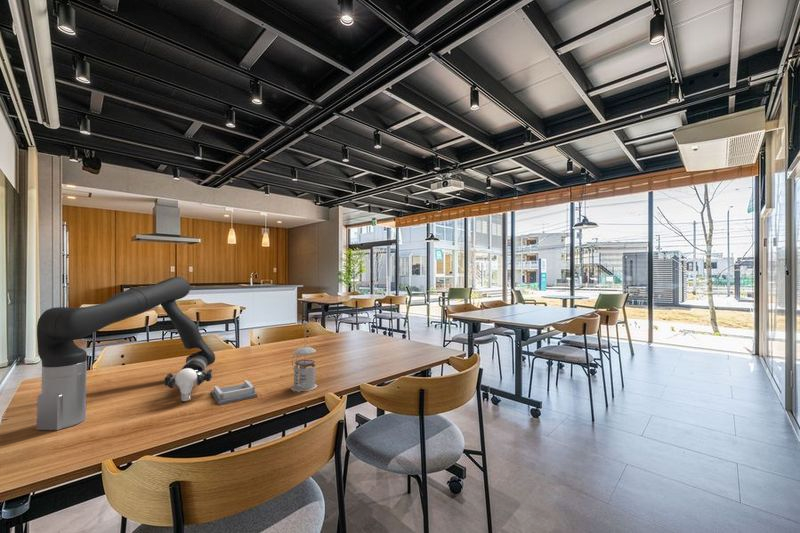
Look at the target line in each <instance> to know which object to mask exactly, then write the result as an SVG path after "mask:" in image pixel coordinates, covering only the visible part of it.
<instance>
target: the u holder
mask: <svg viewBox="0 0 800 533" xmlns="http://www.w3.org/2000/svg"><path fill="white" fill-rule="evenodd" d="M255 390H256V388H255V386H254V385H253V384H252V383H251V382H250V381H249V380H248V379H246V380H244V381H243V383H241V384H237V385H236V384H235V385H232V386H226V387H221V388H220V387H219V386H218V385H214V386H213V389H211V390H210V393H211V395H212V396H213V398H214V399H215V401H216V402H217V404H218V406H221V405H226V404H231V403H234V402H235V403H236V402H239V401H244V400H248V399H253V398H258V393H257V392H256V391H255Z"/></svg>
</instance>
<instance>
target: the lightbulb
mask: <svg viewBox="0 0 800 533" xmlns="http://www.w3.org/2000/svg"><path fill="white" fill-rule="evenodd" d="M181 369H182V368H181ZM181 369H180V370H179V371H178V372H177V373H176V374H177V375H176V374H175V375H176V377H175V383H176V384H175V385H177V387H178V388H179V392H180V395H181V398H180V399H181V401H182V402H185V403H186V402H189V401H190V400H191V397H192V395H191V392H192V390H193V386H194V385H195V384H196V383H197V382H196V380H197V373H196V371H195V370H193V369H191V368H185V369H182V370H181ZM195 382H196V383H195Z"/></svg>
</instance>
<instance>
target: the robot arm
mask: <svg viewBox="0 0 800 533" xmlns="http://www.w3.org/2000/svg"><path fill="white" fill-rule="evenodd" d="M190 289H191V285H190V282H189V281H188V280H187V279H186V278H184V277H181V276H173V277H169V278H167V279H165V280H161V281H159V282H157V283H156V284H151V285H145V286H141V287H136V288H135V287H134V288H131V289H127V290H124V291H121V292H118V293H115V294H114V295H112V296H111V297H109V298H108V299H107V300H106V301H104V302H102V303H99V304H95V305H90V306H83V307H82V306H80V307H78V306H77V307H76V306H74V307H71V306H69V307H66V306H65V307H64V306H60V307H59V306H58V307H57V306H55V307H52V308H49V309H48V308H47V309H46V310H45V311H44V312H42V313H41V314H40V316H39V318H38V321H37V324H36V342H37V344H36V345H37V354H38V357H39V358H40V360H41V392H40V394H38V395H37V397H36V430H37V431H59V430H60V431H61V430H62V429H65V428H69V427H72V426H75V425H76V426H77V425H78V424H80V423H82V422H84V421H85V420H86V419H87V418H86V417H87V370H88V368H87V367H88V366H87V364H88V355H87V354H88V352H87V350H85V349H83V348H82V347H79V346H78V345H76V343H75V341H76V340H79V339H83V338H85V337H86V338H87V337H89V336H90V335H92V334H94V333H96V332H98V331H100V330H102V329H104V328H106V327H108V326H111V325H112V324H115V323H119V322H121V321H125V320H127V319H130V318H132V317H133V318H134V317H135V316H138V315H141V314H144V313H145V312H148V311H150V310H153V309H154V308H157V307H158V306H160V305H161V307H162V309H163V310H164V312H165V313H166V315H167V316H168V318H169V319H170V321H171V323H173V325H174V328H175V329H176V332H177V334H178V336H179V338H180V340H181V342H182V344H183V347H184V348H185V350H191V349H199V351H196V352H195V353H191V354H190V355H188V356H186V358H185V364H184V365H183V366H182V368H181V369H180V370H182V369H185V368H191V369H193V370H195V371H196V373H197V380H196V382H195V383H194V384H196V386H200V385H202V384H203V383H204V382H205V381H206V382H210V381H211V379H212V378H213V369H208V370H207V371H206V369H207V368H208V367H209V366H211V365H212V364H214V363H215V361H216V354H215V353H214V351H213V350H212V349H211V348H210V346H208V344H207V343H206V342H205V340H204V339H203V337H202V334H201V332H200V330H199V327H198V326H197V323H195V321H194V320H192V318H190V317H189V316H188V315H186V314H185V313H184V312H183V311H182V310H181V309H180V308H179V306H178V304H177V300H181V299H184V298H185V297H186V296H188V294H189V293H190V291H191V290H190ZM74 340H75V341H74ZM176 375H177V373H176V374H172V373H171V372H170V373H167V374H166V376H165V377H164V386H165V387H166V386H167V387H168V388H169V389H173V388H174V387H175V385H177V384H176V383H175V377H176Z"/></svg>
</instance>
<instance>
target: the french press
mask: <svg viewBox="0 0 800 533" xmlns="http://www.w3.org/2000/svg"><path fill="white" fill-rule="evenodd" d="M302 325H303V326H304V341H307V340H306V339H307V338H306V331H307V330H306V328H307V327H306V326H308V325H309V323H308V321H305V320H304V321H302ZM316 352H317V350H316V349H315V348H313V347H310V346H306V345H304V346H302V347H298V348H297V349H296V350H294V351H293V353H294V355H293V357H292V360H291V365H292V369H293V375H294V376H293V386H292V387H291V388H290V390H291V391H292V390H293V392H295V391H297V392H296V393H301V392H300V391H309V390H313V389H315V388H316V387H317V386H318V385H317V383H316V364H314V363H315V360H313V359H309V358H308V359H299V360H297V359H298V358H300V357H301V356H306V355H307V356H308V355H313V354H316ZM295 356H296V357H295ZM294 357H295V362H294ZM294 364H295V365H294ZM315 390H316V389H315ZM313 391H314V390H313ZM309 392H310V391H309Z"/></svg>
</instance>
